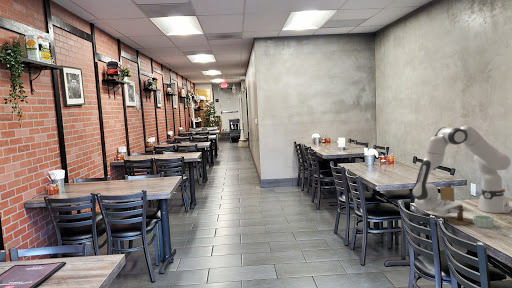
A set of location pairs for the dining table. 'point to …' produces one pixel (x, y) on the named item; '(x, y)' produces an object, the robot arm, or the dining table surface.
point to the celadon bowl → (483, 221)
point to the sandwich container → (447, 193)
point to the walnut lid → (460, 218)
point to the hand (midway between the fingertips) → (461, 210)
